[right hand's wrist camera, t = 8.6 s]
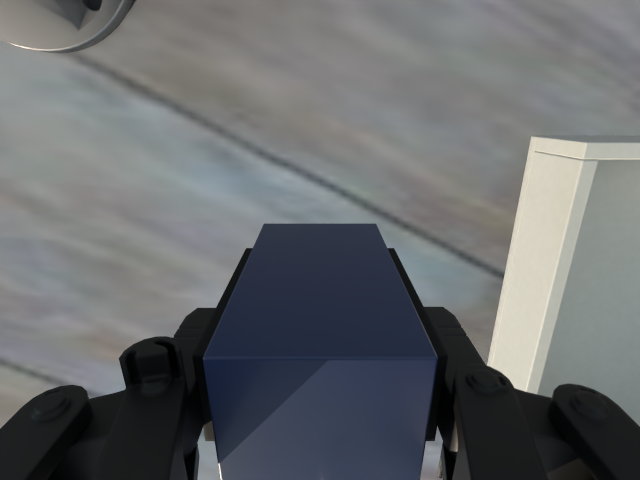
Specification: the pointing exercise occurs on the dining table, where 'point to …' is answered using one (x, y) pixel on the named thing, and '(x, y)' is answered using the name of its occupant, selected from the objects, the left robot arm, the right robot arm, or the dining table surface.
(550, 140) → the drawer
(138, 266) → the dining table surface
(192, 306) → the dining table surface
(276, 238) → the pillar
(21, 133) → the dining table surface
